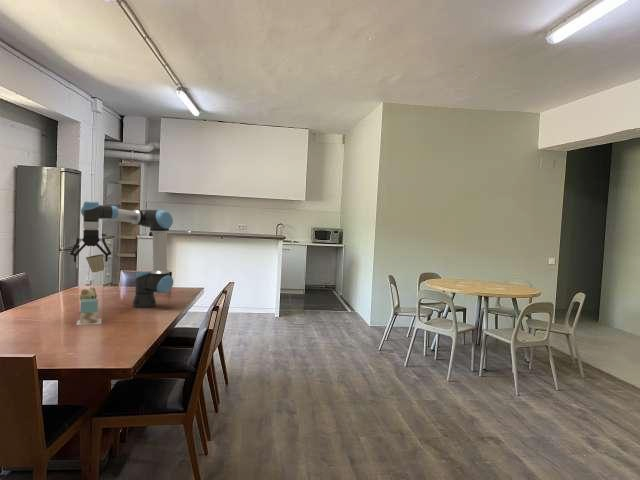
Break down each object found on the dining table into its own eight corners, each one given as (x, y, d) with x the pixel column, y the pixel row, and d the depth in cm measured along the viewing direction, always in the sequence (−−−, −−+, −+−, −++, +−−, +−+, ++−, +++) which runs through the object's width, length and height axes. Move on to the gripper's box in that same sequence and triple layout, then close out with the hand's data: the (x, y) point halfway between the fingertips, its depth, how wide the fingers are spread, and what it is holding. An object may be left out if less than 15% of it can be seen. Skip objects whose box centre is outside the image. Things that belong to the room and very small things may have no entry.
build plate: (101, 320, 253) (101, 318, 253) (100, 325, 243) (101, 323, 243) (77, 321, 248) (77, 320, 248) (76, 326, 238) (76, 324, 238)
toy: (88, 314, 267) (88, 289, 266) (76, 313, 269) (76, 288, 268) (99, 311, 277) (100, 287, 276) (87, 310, 278) (88, 286, 278)
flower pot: (88, 274, 241) (85, 258, 240) (88, 271, 249) (85, 256, 248) (107, 270, 245) (104, 255, 244) (106, 268, 254) (103, 253, 252)
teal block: (97, 309, 250) (97, 298, 250) (97, 312, 243) (97, 301, 243) (81, 309, 247) (81, 299, 247) (80, 312, 240) (80, 301, 240)
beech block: (97, 319, 251) (97, 309, 250) (97, 322, 244) (97, 312, 243) (81, 320, 247) (81, 309, 247) (80, 323, 240) (80, 312, 240)
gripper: (115, 229, 253) (115, 266, 254) (65, 228, 243) (66, 267, 244) (115, 229, 246) (115, 267, 248) (64, 229, 236) (64, 269, 237)
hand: (91, 267), depth 246 cm, fingers open, 13 cm apart
